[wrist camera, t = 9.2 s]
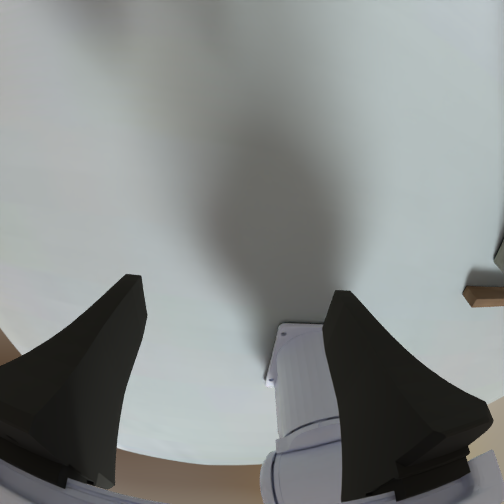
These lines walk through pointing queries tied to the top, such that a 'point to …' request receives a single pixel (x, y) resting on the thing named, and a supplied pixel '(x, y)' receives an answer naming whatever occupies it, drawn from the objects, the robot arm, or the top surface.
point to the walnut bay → (484, 296)
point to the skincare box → (500, 258)
